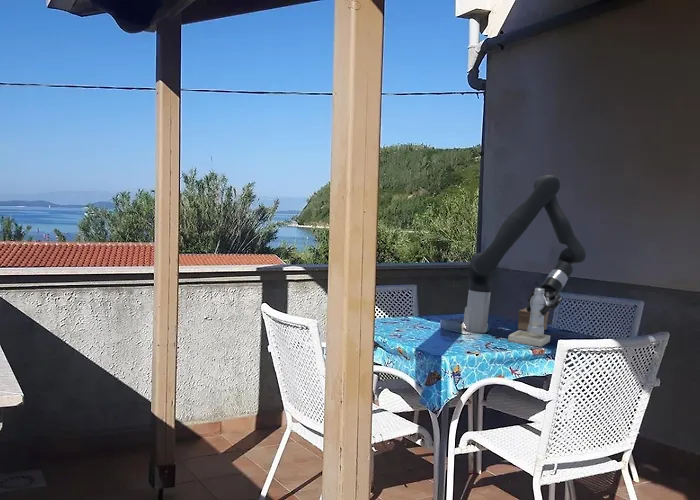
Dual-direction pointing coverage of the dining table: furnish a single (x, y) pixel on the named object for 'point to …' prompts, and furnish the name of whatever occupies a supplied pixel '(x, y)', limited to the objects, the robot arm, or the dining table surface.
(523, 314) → the lidded box
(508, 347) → the dining table surface
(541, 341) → the tray
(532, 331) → the plastic bottle
